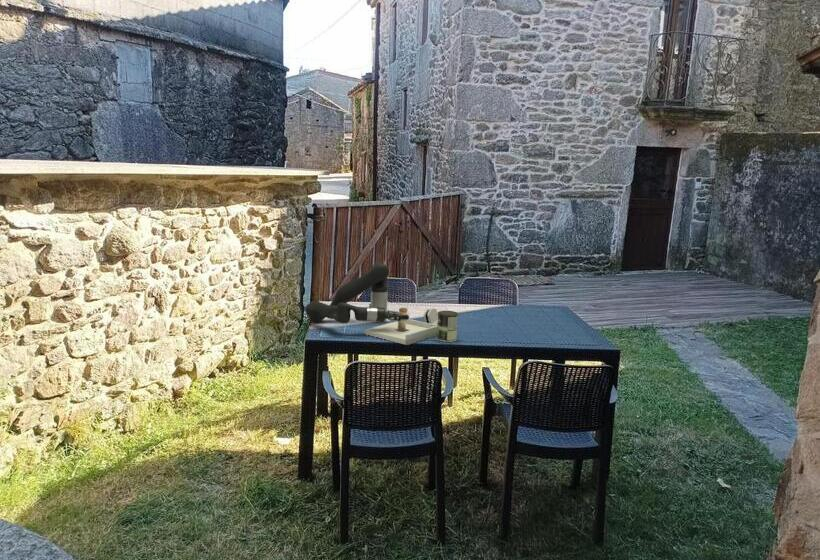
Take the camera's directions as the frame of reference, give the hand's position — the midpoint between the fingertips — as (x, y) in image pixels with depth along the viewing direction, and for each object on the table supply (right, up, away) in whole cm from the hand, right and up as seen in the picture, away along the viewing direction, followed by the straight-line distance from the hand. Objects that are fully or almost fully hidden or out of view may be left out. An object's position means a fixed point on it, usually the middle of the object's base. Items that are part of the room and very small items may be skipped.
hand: (407, 316), depth 330 cm
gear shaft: (-3, -8, +1) cm, 8 cm away
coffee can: (+20, -12, -5) cm, 24 cm away
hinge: (+14, -6, +26) cm, 30 cm away
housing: (-3, -10, +1) cm, 10 cm away
